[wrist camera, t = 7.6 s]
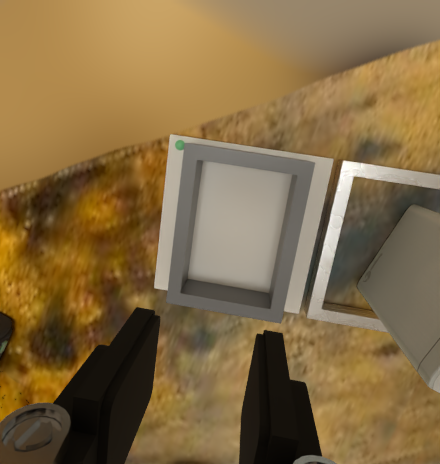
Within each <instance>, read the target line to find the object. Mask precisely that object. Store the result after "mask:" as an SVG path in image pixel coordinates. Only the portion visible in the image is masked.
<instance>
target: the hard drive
mask: <svg viewBox="0 0 440 464" xmlns="http://www.w3.org/2000/svg"><path fill="white" fill-rule="evenodd" d="M357 288H358V290H359V291H360V293H361V294H362V295H363V297H364V298H365V300H366V301H367V302H368V304H369V305H370V306H371V308H372V309H373V311H374V312H375V314H376V315H377V317H378V318H379V319H380V321H381V322H382V323H383V325H384V326H385V328H386V329H387V330H388V332H389V333H390V335H391V336H392V337H393V339H394V340H395V342H396V343H397V345H398V346H399V347H400V349H401V350H402V351H403V353H404V354H405V355H406V357H407V358H408V360H409V361H410V362H411V364H412V365H413V367H414V368H415V369H416V371H417V372H418V373H419V375H420V376H421V377H422V379H423V380H424V382H425V383H426V384H427V386H428V387H430V388H431V389H433V390H435V391H437V392H439V393H440V213H437V212H434V211H432V210H429V209H426V208H424V207H421V206H418V205H416V204H413V205H411V206H410V207H409V208H408V209H407V210H406V212H405V213H404V215H403V216H402V218H401V219H400V221H399V222H398V223H397V225H396V227H395V228H394V230H393V231H392V232H391V234H390V236H389V237H388V238H387V240H386V242H385V243H384V244H383V246H382V248H381V249H380V251H379V252H378V254H377V255H376V257H375V258H374V260H373V261H372V263H371V264H370V265H369V267H368V269H367V270H366V271H365V273H364V274H363V276H362V277H361V279H360V280H359V282H358V285H357Z"/></svg>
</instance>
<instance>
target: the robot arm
mask: <svg viewBox="0 0 440 464" xmlns="http://www.w3.org/2000/svg"><path fill="white" fill-rule="evenodd" d="M159 326H160V316H156V315H155V311H154V310H149V309H144V308H138V307H137V308H136V309H135V310H134V312H133V313H132V314H131V316H130V317H129V319H128V320H127V321H126V323H125V324H124V326H123V327H122V328H121V330H120V331H119V333H118V334H117V335H116V337H115V338H114V340H113V341H112V342H111V344H110V345H109V346H106V345H98V346H97V347H96V348H95V349H94V351H93V352H92V353H91V355H90V356H89V357H88V359H87V360H86V361H85V362H84V364H83V365H82V366H81V368H80V369H79V370H78V372H77V373H76V374H75V375H74V377H73V378H72V379H71V381H70V382H69V383H68V385H67V386H66V387H65V388H64V390H63V391H62V392H61V394H60V395H59V396H58V398H57V399H56V400H55V401H54V403H53V404H52V403H36V404H32V405H27V406H25V407H22V408H20V409H17V410H16V411H14V412H12V413H11V414H9V415H8V416H6V417H5V418H4V419H3V420H2V421H1V422H0V464H124V463H125V461H126V458H127V456H128V453H129V451H130V448H131V446H132V443H133V441H134V438H135V436H136V433H137V431H138V428H139V426H140V423H141V421H142V418H143V416H144V413H145V411H146V408H147V406H148V403H149V401H150V398H151V394H152V389H153V380H154V371H155V362H156V353H157V344H158V335H159ZM239 464H336V463H335V462H333V461H332V460H329V459H327V458H324V457H322V453H321V449H320V444H319V440H318V435H317V431H316V426H315V422H314V417H313V413H312V408H311V404H310V399H309V395H308V390H307V386H306V384H305V383H304V382H300V381H295V380H290V378H289V371H288V365H287V359H286V352H285V346H284V339H283V334H282V333H278V332H272V331H267V330H264V333H263V335H262V334H257V335H256V340H255V345H254V350H253V355H252V360H251V365H250V371H249V376H248V381H247V386H246V391H245V396H244V401H243V407H242V414H241V432H240V455H239Z"/></svg>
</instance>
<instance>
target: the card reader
mask: <svg viewBox="0 0 440 464" xmlns="http://www.w3.org/2000/svg"><path fill="white" fill-rule="evenodd" d="M11 326H12V322H11V319H10V318H8V317H6V316H4V315H3V314H1V313H0V358H1V356H2V354H3V351H4V349H5V347H6V345H7V342H8V340H9V338H10V336H11V333H12V330H13V329H12V327H11Z"/></svg>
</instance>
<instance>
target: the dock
mask: <svg viewBox="0 0 440 464" xmlns="http://www.w3.org/2000/svg"><path fill="white" fill-rule="evenodd" d="M333 160H334V159H331V158H325V157H318V156H311V155H305V154H298V153H292V152H285V151H278V150H272V149H265V148H259V147H252V146H245V145H239V144H232V143H225V142H219V141H212V140H206V139H199V138H192V137H186V136H179V135H172V134H170V140H169V149H168V159H167V169H166V178H165V188H164V197H163V207H162V217H161V226H160V236H159V245H158V255H157V265H156V274H155V284H154V288H157V289H162V290H168V291H167V300H166V303H170V304H176V305H181V306H187V307H192V308H198V309H203V310H209V311H215V312H220V313H226V314H231V315H237V316H242V317H248V318H253V319H259V320H264V321H270V322H275V323H281V321H282V317H283V312H284V311H285V312H291V313H297V314H299V311H300V306H301V302H302V297H303V293H304V288H305V284H306V280H307V275H308V271H309V266H310V262H311V258H312V253H313V249H314V244H315V240H316V235H317V231H318V227H319V222H320V218H321V213H322V209H323V205H324V200H325V196H326V191H327V187H328V182H329V178H330V174H331V169H332V165H333Z"/></svg>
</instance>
